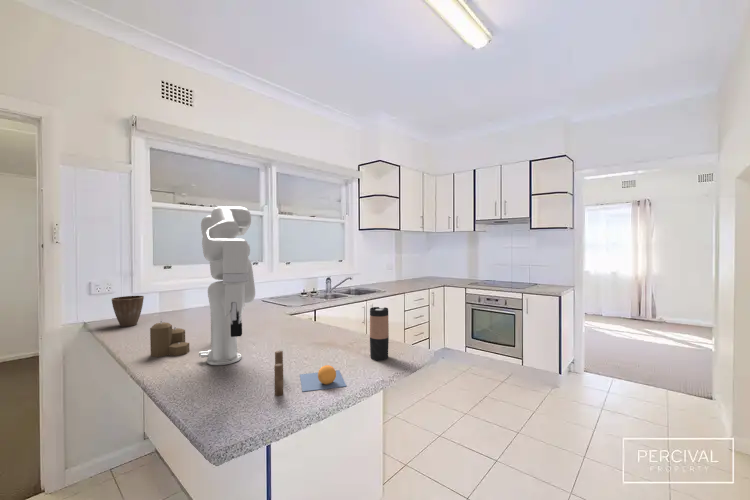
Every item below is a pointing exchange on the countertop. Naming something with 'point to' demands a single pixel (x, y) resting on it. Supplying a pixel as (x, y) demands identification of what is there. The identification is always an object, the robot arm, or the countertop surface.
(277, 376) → the post
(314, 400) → the countertop surface
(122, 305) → the plant pot
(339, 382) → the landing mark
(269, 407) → the countertop surface
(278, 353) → the post
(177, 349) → the candle
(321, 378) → the ball
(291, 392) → the countertop surface
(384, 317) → the travel mug
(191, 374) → the countertop surface
